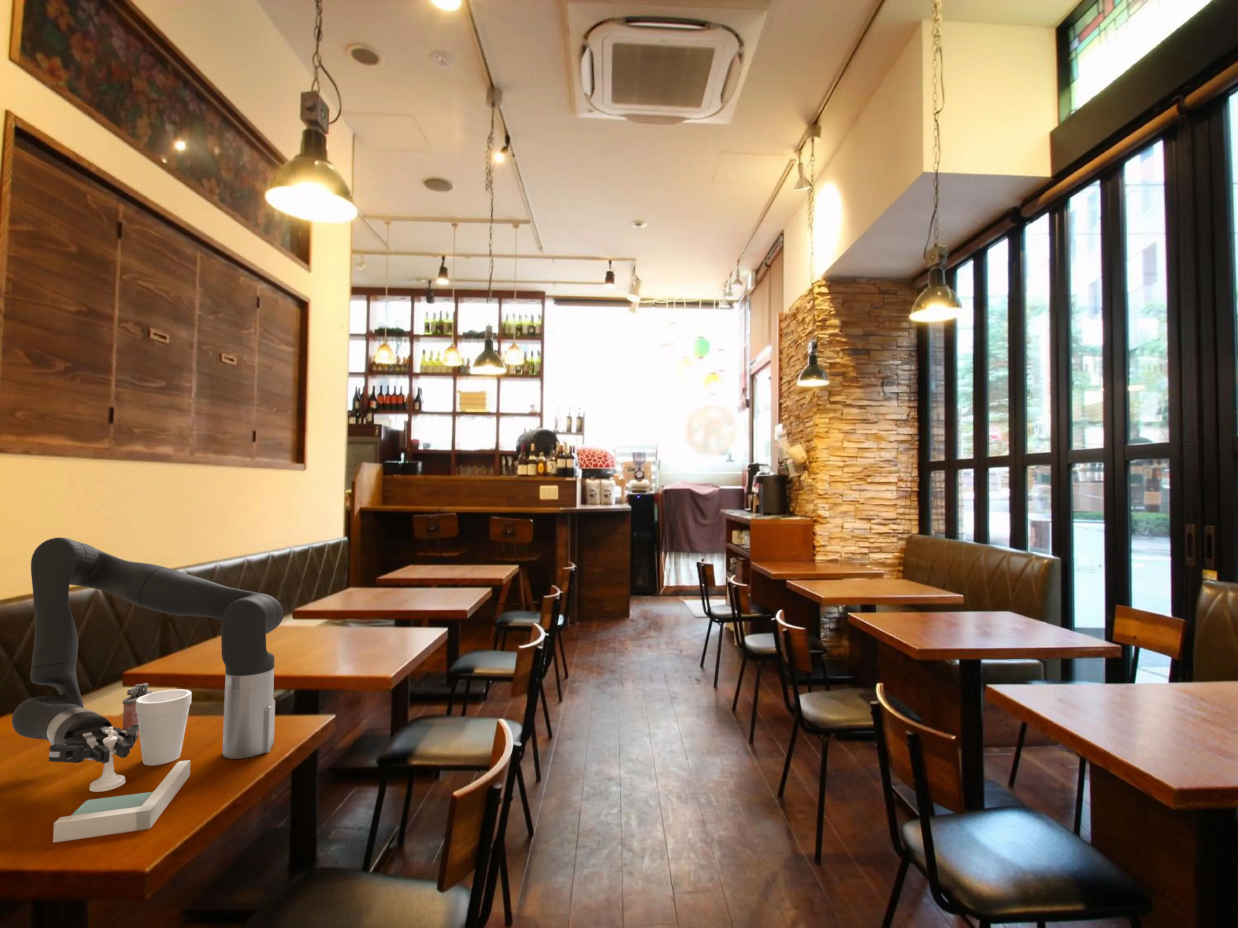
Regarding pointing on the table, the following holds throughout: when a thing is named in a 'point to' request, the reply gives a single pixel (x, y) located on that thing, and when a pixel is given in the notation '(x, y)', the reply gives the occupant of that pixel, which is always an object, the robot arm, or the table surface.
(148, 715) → the foam cup
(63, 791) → the table surface
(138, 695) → the lighter
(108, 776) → the chess piece
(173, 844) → the table surface
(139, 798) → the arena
